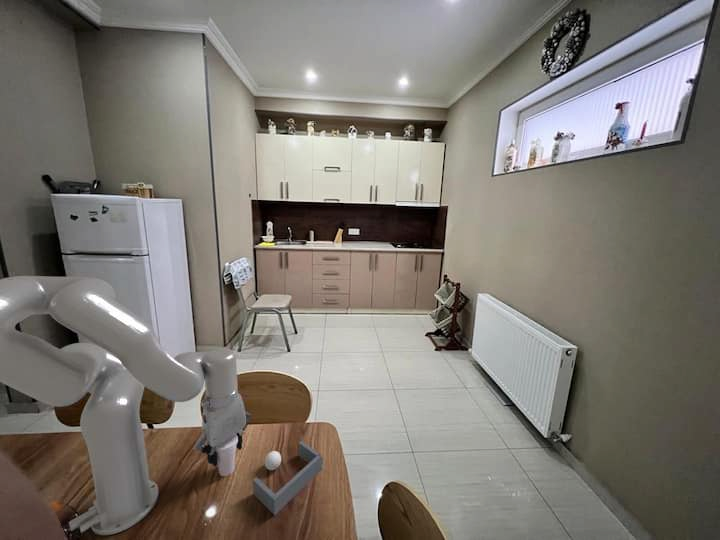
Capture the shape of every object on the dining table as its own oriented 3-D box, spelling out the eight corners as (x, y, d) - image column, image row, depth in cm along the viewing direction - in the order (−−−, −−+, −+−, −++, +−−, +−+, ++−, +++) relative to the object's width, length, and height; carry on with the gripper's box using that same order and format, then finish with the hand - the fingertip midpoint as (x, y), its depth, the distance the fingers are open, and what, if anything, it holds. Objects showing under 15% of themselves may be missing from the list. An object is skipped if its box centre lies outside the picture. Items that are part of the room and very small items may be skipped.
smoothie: (229, 483, 76) (227, 437, 73) (208, 478, 77) (205, 432, 74) (244, 463, 82) (242, 420, 79) (224, 458, 83) (221, 416, 80)
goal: (274, 515, 68) (274, 499, 67) (253, 494, 73) (253, 479, 72) (322, 469, 81) (322, 455, 80) (301, 453, 86) (301, 440, 85)
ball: (271, 477, 78) (271, 463, 77) (261, 468, 80) (261, 454, 79) (284, 466, 81) (284, 452, 80) (274, 458, 84) (274, 444, 83)
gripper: (194, 420, 66) (199, 485, 69) (259, 386, 80) (261, 442, 83) (180, 407, 70) (185, 469, 74) (244, 377, 84) (246, 430, 87)
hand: (225, 454), depth 78 cm, fingers closed on smoothie, 6 cm apart
